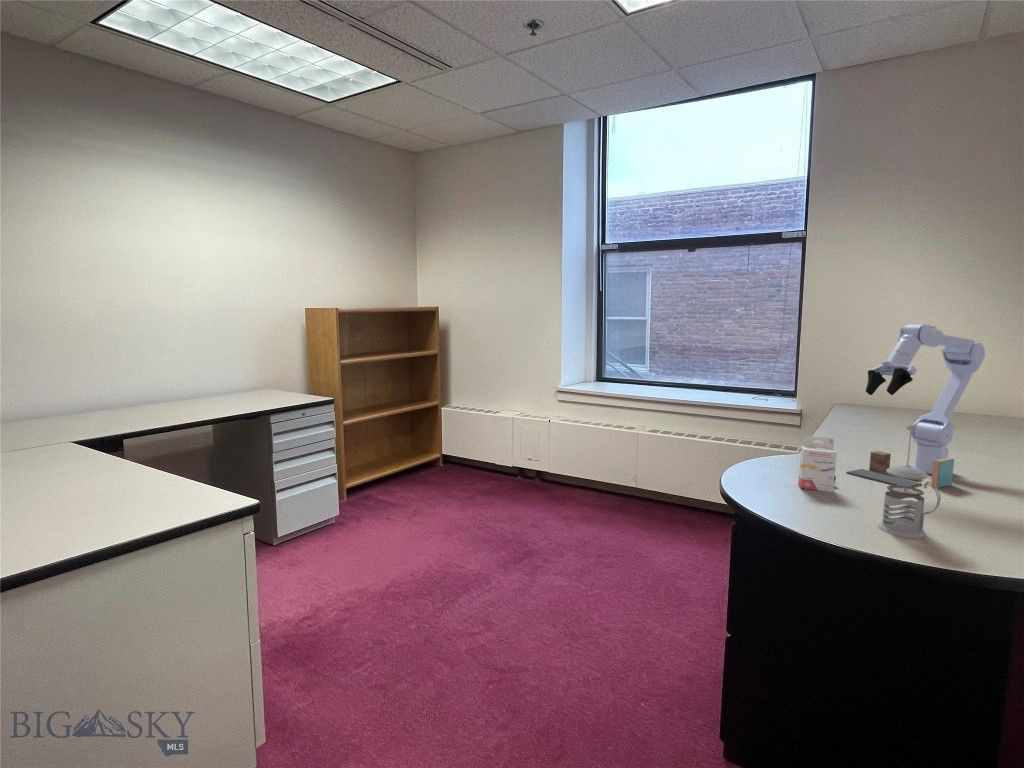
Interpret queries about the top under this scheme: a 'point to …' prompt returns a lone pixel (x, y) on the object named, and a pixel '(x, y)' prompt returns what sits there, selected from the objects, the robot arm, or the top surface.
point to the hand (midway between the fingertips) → (878, 393)
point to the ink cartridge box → (817, 464)
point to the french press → (905, 502)
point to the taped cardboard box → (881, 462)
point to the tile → (942, 472)
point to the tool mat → (883, 478)
